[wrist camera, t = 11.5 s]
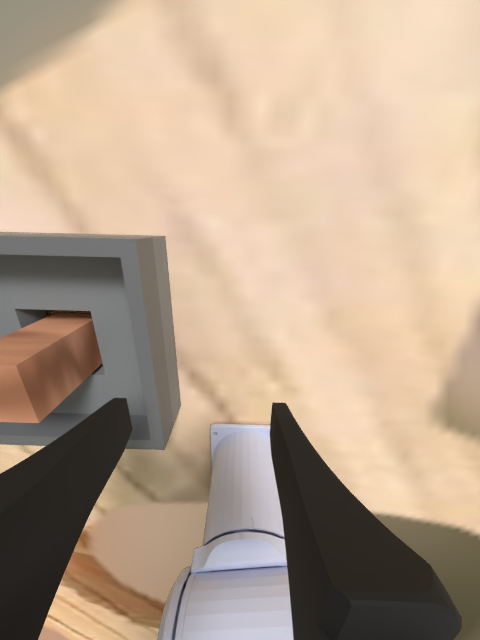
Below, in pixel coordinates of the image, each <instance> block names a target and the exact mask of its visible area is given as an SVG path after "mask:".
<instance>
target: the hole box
mask: <svg viewBox="0 0 480 640" xmlns="http://www.w3.org/2000/svg"><path fill="white" fill-rule="evenodd" d="M46 310H73V311H90V312H91V316H92V320H93V325H94V329H95V333H96V337H97V342H98V346H99V350H100V355H101V359H102V364H101V365H100V366H99V367H98V368H97V369H96V370H95V371H94V372H93V373H92V374H91V375H90V376H88V377H87V378H86V379H85V380H84V381H83V382H82V383H81V384H80V385H79V386H78V387H77V388H76V389H75V390H74V391H73V392H72V393H71V394H69V395H68V396H67V397H66V398H65V399H64V400H63V401H62V402H61V403H60V404H59V405H58V406H57V407H56V408H55V409H54V410H53V411H51V412H50V413H49V414H48V415H47V416H46V417H45V418H44V419H43V420H42V421H41V422H40V423H18V422H0V444H7V445H37V446H47V445H48V444H50V443H51V442H53V441H54V440H56V439H57V438H59V437H60V436H62V435H63V434H65V433H66V432H68V431H69V430H70V429H72V428H73V427H75V426H76V425H77V424H79V423H80V422H81V421H83V420H84V419H85V418H87V417H88V416H90V415H91V414H92V413H94V412H95V411H96V410H98V409H99V408H100V407H102V406H103V405H104V404H106V403H107V402H109V401H110V400H111V399H113V398H126V399H127V404H128V409H129V413H130V418H131V423H132V428H133V430H132V432H131V435H130V438H129V440H128V443H127V445H126V447H125V448H126V449H156V450H165V447H166V445H167V442H168V439H169V436H170V434H171V431H172V428H173V425H174V423H175V420H176V417H177V414H178V412H179V409H180V406H181V402H180V392H179V381H178V370H177V359H176V349H175V338H174V327H173V316H172V306H171V295H170V284H169V273H168V262H167V252H166V241H165V236H140V235H100V234H60V233H19V232H0V338H1V337H3V336H5V335H8V334H10V333H12V332H14V331H17V330H19V329H21V328H23V327H26V326H28V325H30V324H32V323H35V322H37V321H39V320H41V319H43V318H46V317H48V315H47V312H46Z"/></svg>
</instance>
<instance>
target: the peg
mask: <svg viewBox="0 0 480 640" xmlns="http://www.w3.org/2000/svg"><path fill="white" fill-rule="evenodd" d="M101 364H102V359H101V355H100V350H99V346H98V342H97V337H96V333H95V329H94V325H93V320H92V316H91V313H55V314H52V315H50V316H48V317H46V318H43V319H41V320H39V321H37V322H35V323H32V324H30V325H28V326H26V327H23V328H21V329H19V330H17V331H14V332H12V333H10V334H8V335H5V336H3V337H1V338H0V422H18V423H40V422H41V421H42V420H43V419H44V418H45V417H46V416H47V415H48V414H49V413H50V412H51V411H53V410H54V409H55V408H56V407H57V406H58V405H59V404H60V403H61V402H62V401H63V400H64V399H65V398H66V397H67V396H68V395H69V394H71V393H72V392H73V391H74V390H75V389H76V388H77V387H78V386H79V385H80V384H81V383H82V382H83V381H84V380H85V379H86V378H87V377H88V376H90V375H91V374H92V373H93V372H94V371H95V370H96V369H97V368H98V367H99V366H100V365H101Z"/></svg>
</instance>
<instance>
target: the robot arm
mask: <svg viewBox="0 0 480 640" xmlns="http://www.w3.org/2000/svg"><path fill="white" fill-rule="evenodd" d="M132 430H133V428H132V423H131V418H130V413H129V409H128V404H127V399H126V398H113V399H111V400H110V401H109V402H107V403H106V404H104V405H103V406H102V407H100V408H99V409H98V410H96V411H95V412H94V413H92V414H91V415H90V416H88V417H87V418H85V419H84V420H83V421H81V422H80V423H79V424H77V425H76V426H75V427H73V428H72V429H70V430H69V431H68V432H66V433H65V434H63V435H62V436H60V437H59V438H57V439H56V440H54V441H53V442H51V443H50V444H48V445H47V446H46V447H44V448H43V449H41V450H39V451H38V452H36V453H35V454H33V455H31V456H30V457H28V458H27V459H25V460H23V461H22V462H20V463H18V464H17V465H15V466H13V467H12V468H10V469H8V470H6V471H5V472H3V473H1V474H0V640H38V638H39V635H40V633H41V630H42V627H43V625H44V622H45V619H46V617H47V614H48V611H49V609H50V607H51V604H52V602H53V599H54V597H55V594H56V592H57V589H58V587H59V584H60V582H61V579H62V577H63V574H64V572H65V569H66V567H67V565H68V562H69V560H70V558H71V555H72V553H73V551H74V548H75V546H76V544H77V541H78V539H79V537H80V535H81V532H82V530H83V528H84V526H85V524H86V521H87V519H88V517H89V515H90V513H91V511H92V509H93V507H94V505H95V503H96V501H97V499H98V497H99V496H100V494H101V492H102V490H103V488H104V487H105V485H106V483H107V481H108V479H109V478H110V476H111V474H112V472H113V470H114V468H115V467H116V465H117V463H118V461H119V459H120V457H121V456H122V454H123V452H124V450H125V447H126V445H127V443H128V440H129V438H130V435H131V432H132ZM210 433H211V462H212V479H211V486H210V494H209V501H208V509H207V517H206V524H205V532H204V539H203V546H202V547H197V548H195V549H194V554H193V560H192V566H191V567H186V568H184V569H183V570H182V572H181V573H180V575H179V576H178V578H177V580H176V582H175V583H174V585H173V587H172V588H171V591H170V593H169V595H168V598H167V601H166V604H165V607H164V611H163V615H162V619H161V623H160V628H159V633H158V638H157V640H453V639H454V638H455V637H456V636H457V635H458V633H459V632H460V630H461V627H462V618H461V616H460V614H459V612H458V610H457V608H456V607H455V605H454V603H453V601H452V600H451V598H450V596H449V594H448V592H447V591H446V589H445V587H444V586H443V584H442V583H441V581H440V580H439V578H438V577H437V575H436V573H435V572H434V570H433V569H432V567H431V565H430V564H428V563H427V562H426V561H425V560H424V559H423V558H421V557H420V556H419V555H418V554H416V553H415V552H414V551H413V550H412V549H411V548H409V547H408V546H407V545H406V544H405V543H404V542H402V541H401V540H400V539H399V538H398V537H396V536H395V535H394V534H393V533H392V532H391V531H390V530H389V529H388V528H387V527H385V526H384V525H383V524H382V523H381V522H380V521H379V520H378V519H377V518H376V517H375V516H374V515H373V514H372V513H371V512H370V511H369V510H368V509H367V508H366V507H365V506H364V505H363V504H362V503H361V502H360V501H359V500H358V499H357V498H356V497H355V496H354V495H353V494H352V493H351V492H350V491H349V490H348V489H347V488H346V487H345V485H344V484H343V483H342V482H341V481H340V480H339V479H338V478H337V476H336V475H335V474H334V473H333V472H332V471H331V469H330V468H329V467H328V466H327V464H326V463H325V462H324V461H323V459H322V458H321V457H320V455H319V454H318V453H317V451H316V450H315V449H314V447H313V446H312V445H311V443H310V442H309V440H308V439H307V437H306V436H305V434H304V433H303V431H302V430H301V428H300V427H299V425H298V423H297V422H296V420H295V419H294V417H293V415H292V413H291V412H290V410H289V408H288V406H287V405H286V403H273V404H272V414H271V425H248V424H218V423H215V424H212V425H211V429H210Z"/></svg>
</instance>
